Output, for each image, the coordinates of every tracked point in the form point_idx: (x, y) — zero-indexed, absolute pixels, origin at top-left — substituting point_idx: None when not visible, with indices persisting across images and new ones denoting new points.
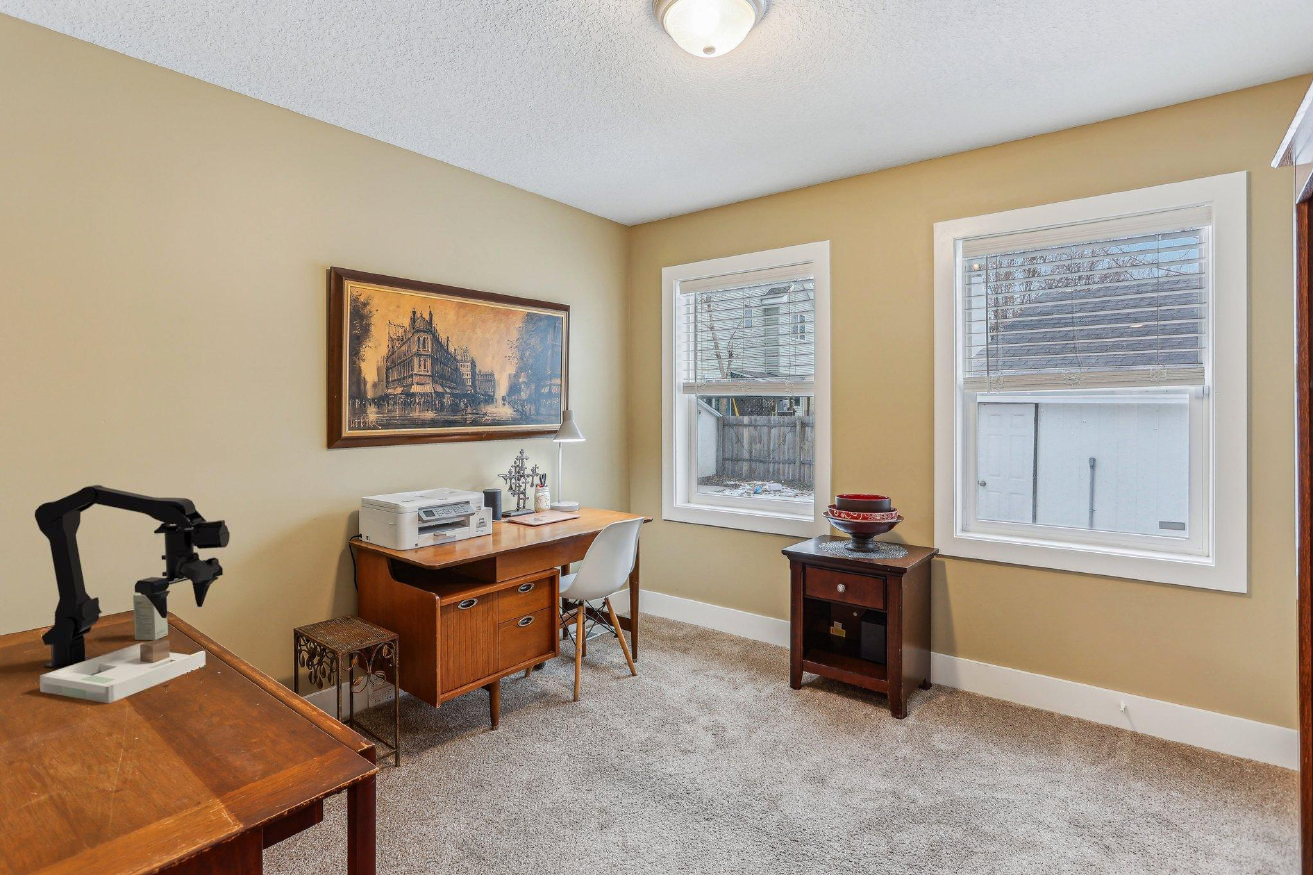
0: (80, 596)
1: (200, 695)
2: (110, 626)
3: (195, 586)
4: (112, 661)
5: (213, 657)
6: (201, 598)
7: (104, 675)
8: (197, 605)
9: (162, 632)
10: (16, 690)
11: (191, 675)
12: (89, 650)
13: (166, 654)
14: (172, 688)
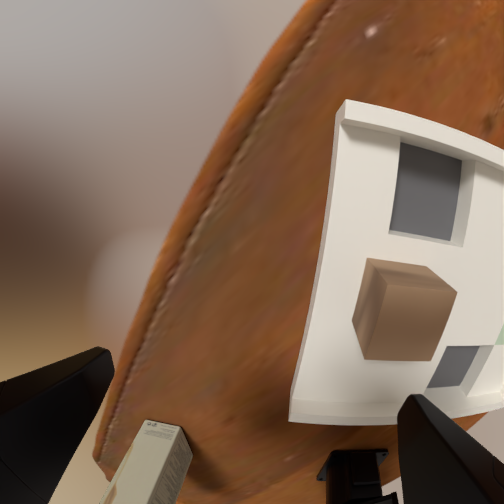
0: None
1: (485, 12)
2: None
3: (34, 493)
4: (402, 393)
5: (252, 151)
6: (63, 384)
7: (499, 316)
8: (110, 379)
9: (156, 430)
10: (474, 420)
11: (419, 98)
12: (271, 479)
13: (384, 264)
14: (492, 95)
